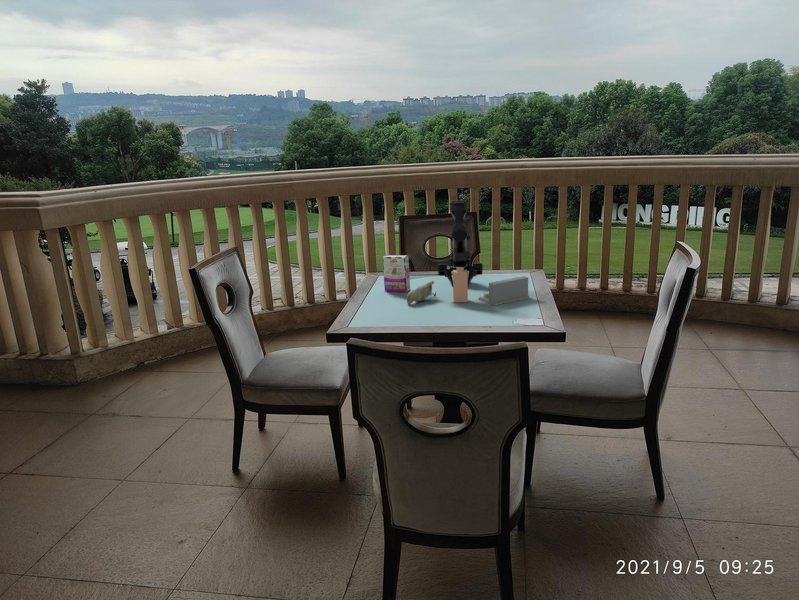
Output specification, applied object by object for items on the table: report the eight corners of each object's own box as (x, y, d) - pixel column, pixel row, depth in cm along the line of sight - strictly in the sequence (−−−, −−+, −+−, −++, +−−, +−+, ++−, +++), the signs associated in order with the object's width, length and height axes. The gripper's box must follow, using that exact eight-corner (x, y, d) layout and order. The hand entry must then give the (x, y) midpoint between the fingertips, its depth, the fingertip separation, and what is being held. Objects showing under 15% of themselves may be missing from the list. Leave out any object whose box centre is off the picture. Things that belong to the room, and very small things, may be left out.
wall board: (478, 299, 230) (478, 279, 228) (512, 292, 238) (512, 272, 235) (494, 305, 221) (494, 284, 218) (529, 298, 228) (529, 277, 226)
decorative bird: (403, 304, 229) (402, 287, 227) (429, 296, 239) (428, 279, 237) (412, 307, 225) (411, 289, 223) (438, 298, 236) (438, 281, 233)
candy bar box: (410, 289, 250) (409, 255, 245) (406, 292, 246) (405, 257, 241) (388, 288, 254) (386, 254, 249) (384, 291, 250) (382, 256, 245)
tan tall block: (453, 299, 231) (452, 266, 227) (467, 299, 230) (467, 265, 226) (453, 302, 227) (452, 268, 223) (467, 302, 226) (467, 268, 222)
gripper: (437, 245, 227) (436, 277, 219) (482, 243, 225) (483, 276, 217) (438, 259, 237) (438, 290, 229) (481, 258, 234) (482, 289, 227)
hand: (460, 286), depth 225 cm, fingers closed on tan tall block, 6 cm apart
